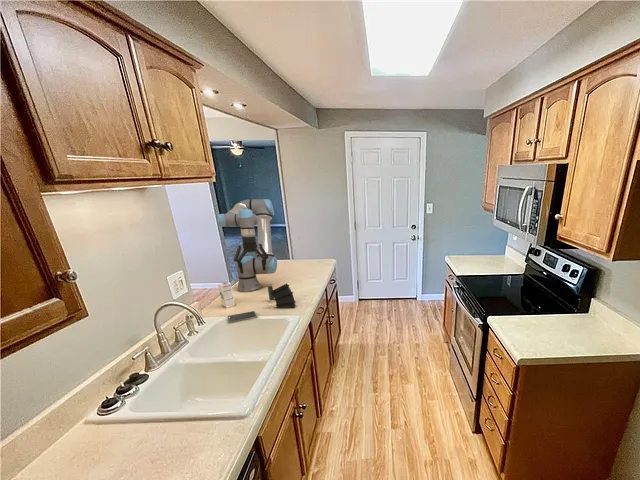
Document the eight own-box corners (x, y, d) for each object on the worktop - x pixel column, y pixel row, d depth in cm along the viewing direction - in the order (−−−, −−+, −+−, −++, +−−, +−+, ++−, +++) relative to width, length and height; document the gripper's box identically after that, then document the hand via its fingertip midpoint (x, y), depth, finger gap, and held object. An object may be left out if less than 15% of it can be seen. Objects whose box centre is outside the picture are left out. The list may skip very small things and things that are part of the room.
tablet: (228, 317, 189) (227, 315, 188) (254, 312, 195) (253, 310, 195) (229, 323, 182) (229, 321, 181) (256, 317, 188) (256, 315, 188)
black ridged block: (298, 305, 201) (285, 284, 196) (280, 314, 203) (267, 293, 199) (300, 303, 205) (287, 282, 200) (282, 311, 207) (269, 291, 202)
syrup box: (235, 305, 206) (231, 283, 201) (225, 308, 202) (221, 285, 197) (231, 303, 210) (227, 281, 205) (222, 305, 206) (217, 283, 201)
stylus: (269, 301, 214) (266, 284, 210) (274, 300, 215) (271, 284, 211) (270, 302, 211) (267, 286, 208) (275, 301, 213) (272, 285, 209)
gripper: (228, 237, 184) (234, 275, 189) (271, 235, 202) (275, 269, 207) (224, 237, 189) (229, 273, 195) (266, 235, 207) (270, 268, 212)
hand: (253, 271), depth 201 cm, fingers open, 13 cm apart
